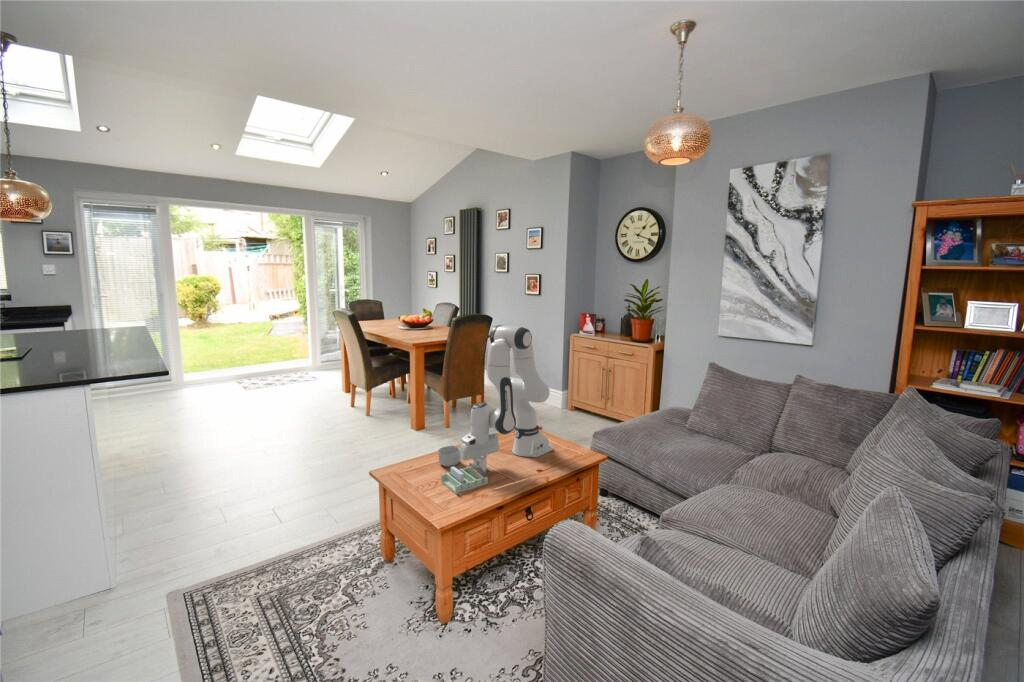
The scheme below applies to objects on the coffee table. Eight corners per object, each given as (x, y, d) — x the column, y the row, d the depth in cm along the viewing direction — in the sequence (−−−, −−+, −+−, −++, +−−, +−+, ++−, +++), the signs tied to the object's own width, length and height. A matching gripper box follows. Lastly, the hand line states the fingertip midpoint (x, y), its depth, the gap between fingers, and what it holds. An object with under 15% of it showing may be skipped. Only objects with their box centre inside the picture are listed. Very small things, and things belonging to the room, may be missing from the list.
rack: (471, 473, 214) (471, 459, 212) (487, 484, 202) (487, 469, 201) (441, 482, 204) (440, 467, 203) (456, 494, 193) (455, 478, 192)
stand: (477, 464, 224) (477, 460, 224) (491, 473, 213) (491, 470, 213) (468, 466, 221) (468, 463, 221) (482, 476, 211) (482, 472, 210)
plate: (476, 465, 221) (476, 453, 220) (486, 471, 214) (486, 459, 213) (473, 466, 220) (473, 454, 219) (483, 472, 213) (483, 460, 212)
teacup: (456, 470, 217) (456, 454, 216) (434, 468, 219) (434, 452, 218) (464, 459, 230) (464, 443, 229) (444, 457, 233) (444, 442, 231)
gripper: (494, 430, 223) (494, 457, 225) (457, 439, 211) (458, 467, 213) (501, 434, 218) (501, 461, 220) (464, 443, 206) (464, 471, 208)
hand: (479, 464), depth 217 cm, fingers closed on plate, 2 cm apart
